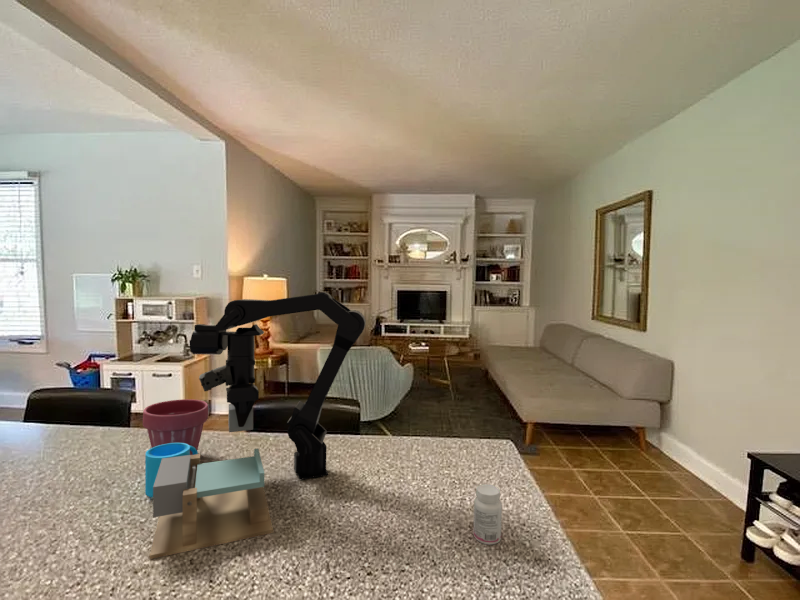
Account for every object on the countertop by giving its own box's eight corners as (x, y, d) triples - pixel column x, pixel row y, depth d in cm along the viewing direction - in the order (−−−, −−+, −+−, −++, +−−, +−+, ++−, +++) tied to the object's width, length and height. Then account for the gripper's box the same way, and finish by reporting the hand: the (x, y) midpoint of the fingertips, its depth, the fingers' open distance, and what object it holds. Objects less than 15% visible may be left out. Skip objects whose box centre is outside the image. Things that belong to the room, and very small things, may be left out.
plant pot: (219, 455, 104) (220, 404, 104) (163, 476, 93) (163, 419, 92) (187, 442, 112) (187, 395, 112) (131, 460, 100) (131, 408, 100)
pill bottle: (481, 525, 76) (482, 480, 75) (505, 536, 73) (507, 488, 72) (468, 537, 72) (469, 489, 72) (493, 549, 69) (494, 499, 69)
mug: (167, 501, 82) (167, 460, 82) (135, 494, 85) (135, 454, 84) (211, 475, 94) (211, 439, 93) (182, 469, 96) (183, 434, 96)
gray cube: (251, 422, 98) (251, 401, 98) (253, 429, 93) (253, 407, 93) (228, 425, 96) (228, 403, 96) (229, 432, 91) (229, 409, 91)
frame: (262, 486, 89) (262, 444, 88) (273, 532, 72) (273, 481, 72) (163, 503, 81) (163, 457, 81) (149, 559, 65) (149, 502, 64)
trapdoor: (258, 470, 85) (258, 446, 85) (264, 497, 74) (264, 470, 74) (162, 484, 78) (161, 458, 78) (153, 517, 67) (153, 487, 67)
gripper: (203, 350, 100) (202, 415, 100) (200, 364, 82) (199, 442, 83) (252, 348, 104) (251, 410, 104) (259, 361, 87) (258, 434, 87)
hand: (240, 423), depth 95 cm, fingers closed on gray cube, 5 cm apart
